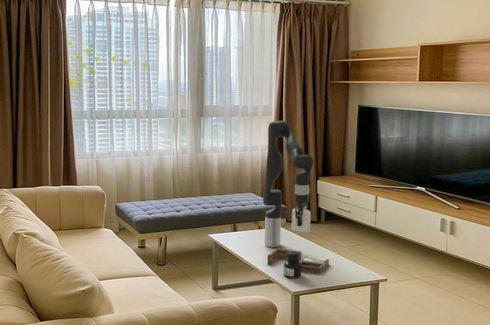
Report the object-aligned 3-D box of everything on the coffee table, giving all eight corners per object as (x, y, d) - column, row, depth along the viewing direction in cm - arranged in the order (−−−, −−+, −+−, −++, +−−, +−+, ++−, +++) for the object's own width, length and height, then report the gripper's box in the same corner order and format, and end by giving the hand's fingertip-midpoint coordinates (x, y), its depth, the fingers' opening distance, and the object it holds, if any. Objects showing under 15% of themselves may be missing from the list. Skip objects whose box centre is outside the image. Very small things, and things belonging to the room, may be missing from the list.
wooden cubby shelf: (276, 257, 328) (276, 248, 327) (301, 260, 322) (301, 251, 322) (267, 264, 315) (267, 255, 314) (293, 267, 310) (293, 258, 309)
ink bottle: (280, 273, 300) (280, 250, 298) (295, 271, 304) (296, 249, 302) (289, 279, 291) (289, 256, 290) (305, 277, 295) (305, 254, 293)
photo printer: (311, 231, 311) (312, 208, 310) (307, 233, 308) (308, 210, 306) (294, 228, 317) (295, 206, 316) (290, 230, 314) (290, 207, 312)
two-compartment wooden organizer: (305, 261, 321) (305, 255, 321) (328, 264, 316) (328, 258, 316) (295, 270, 306) (295, 264, 305) (320, 274, 301) (320, 267, 300)
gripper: (299, 190, 318) (298, 221, 320) (290, 194, 305) (289, 227, 307) (313, 191, 315) (312, 222, 317) (304, 195, 302) (303, 228, 304)
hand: (301, 224), depth 312 cm, fingers closed on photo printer, 4 cm apart
